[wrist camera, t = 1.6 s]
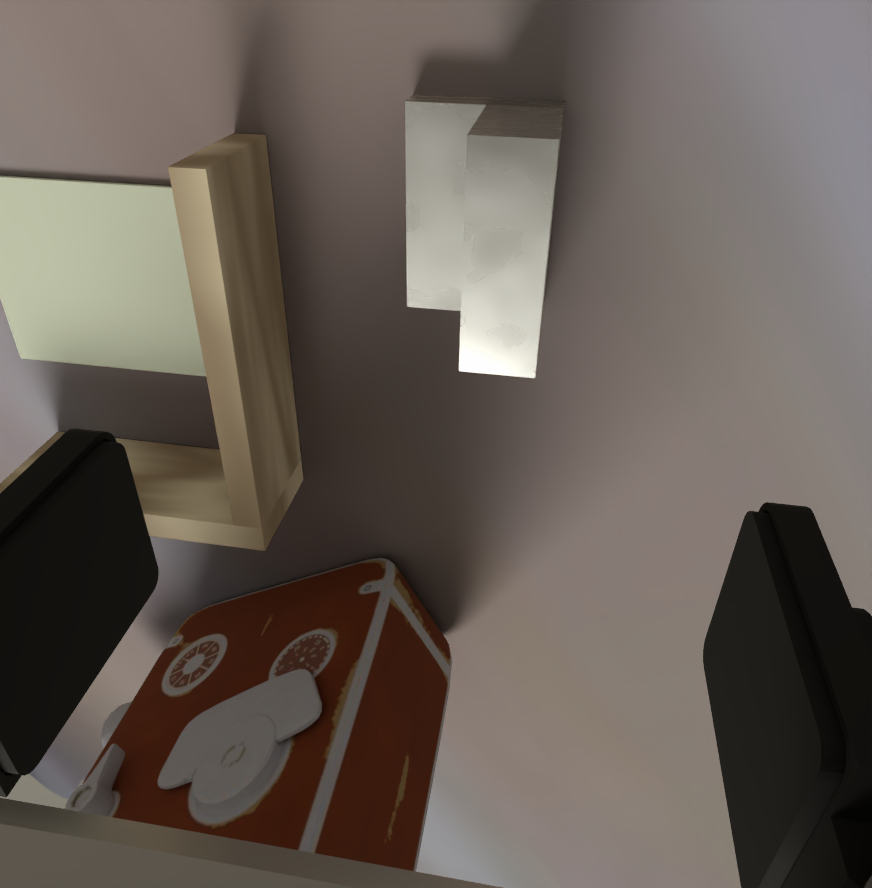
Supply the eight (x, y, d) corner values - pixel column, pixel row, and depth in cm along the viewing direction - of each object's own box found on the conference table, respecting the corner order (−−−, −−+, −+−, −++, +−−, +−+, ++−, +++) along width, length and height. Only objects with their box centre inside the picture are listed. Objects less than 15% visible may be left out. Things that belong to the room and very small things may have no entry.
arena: (265, 134, 26) (205, 169, 22) (303, 479, 34) (265, 550, 30) (-45, 118, 28) (-155, 147, 23) (64, 451, 36) (-3, 516, 32)
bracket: (564, 100, 24) (559, 139, 19) (544, 302, 28) (535, 378, 23) (413, 94, 24) (370, 129, 20) (414, 292, 28) (378, 363, 23)
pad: (177, 186, 28) (175, 188, 27) (211, 374, 32) (209, 376, 32) (-39, 173, 29) (-42, 174, 29) (23, 356, 33) (20, 358, 33)
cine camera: (106, 611, 43) (-195, 1025, 26) (391, 524, 35) (219, 1025, 19) (200, 710, 46) (-10, 1123, 30) (474, 651, 39) (393, 1156, 23)
